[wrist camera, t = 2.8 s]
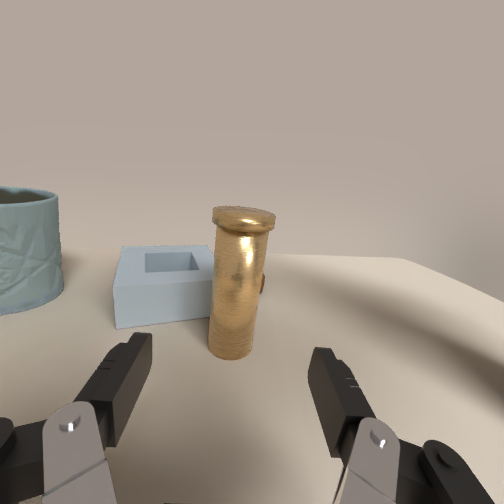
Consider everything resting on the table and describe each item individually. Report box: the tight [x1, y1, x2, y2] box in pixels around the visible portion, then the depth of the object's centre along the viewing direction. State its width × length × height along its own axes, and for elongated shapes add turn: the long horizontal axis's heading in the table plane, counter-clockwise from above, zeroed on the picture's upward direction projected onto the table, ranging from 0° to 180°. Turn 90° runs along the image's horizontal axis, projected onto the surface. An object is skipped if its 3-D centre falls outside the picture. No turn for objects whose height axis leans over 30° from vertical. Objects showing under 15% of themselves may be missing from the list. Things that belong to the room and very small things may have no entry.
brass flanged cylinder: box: [208, 206, 276, 360], centre depth 23 cm, size 5×5×14 cm
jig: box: [113, 245, 214, 329], centre depth 32 cm, size 12×12×5 cm
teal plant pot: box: [0, 187, 63, 315], centre depth 27 cm, size 10×10×12 cm
